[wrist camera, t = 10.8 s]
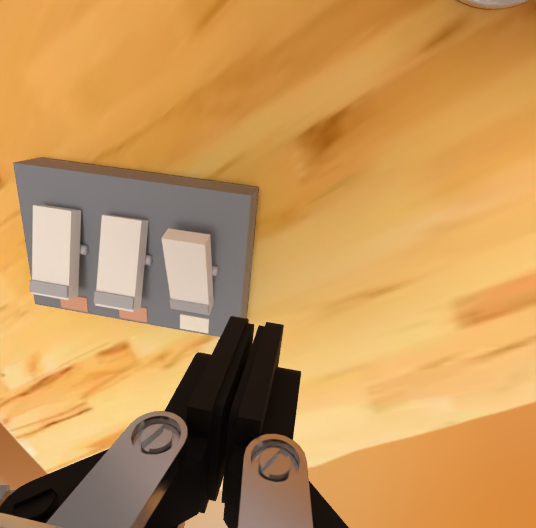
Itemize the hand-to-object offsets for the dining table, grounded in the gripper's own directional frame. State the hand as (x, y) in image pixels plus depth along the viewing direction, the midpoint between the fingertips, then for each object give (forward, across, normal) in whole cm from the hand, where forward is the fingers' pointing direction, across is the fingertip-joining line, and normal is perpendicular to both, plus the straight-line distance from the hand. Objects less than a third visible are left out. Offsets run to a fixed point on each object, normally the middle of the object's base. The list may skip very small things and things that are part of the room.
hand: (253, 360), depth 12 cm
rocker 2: (+23, +17, +9) cm, 30 cm away
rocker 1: (+23, +24, +9) cm, 34 cm away
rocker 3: (+23, +10, +9) cm, 27 cm away
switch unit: (+29, +17, +9) cm, 35 cm away
